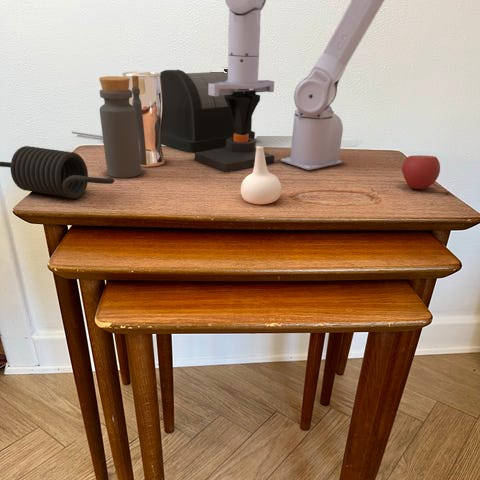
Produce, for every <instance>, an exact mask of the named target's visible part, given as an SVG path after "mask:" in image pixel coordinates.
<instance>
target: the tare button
mask: <svg viewBox="0 0 480 480" xmlns="http://www.w3.org/2000/svg"><path fill="white" fill-rule="evenodd" d="M248 138H249V134H246V135H240V134H236V133H234V140H233V141H234V142H248Z"/></svg>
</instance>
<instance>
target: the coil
mask: <svg viewBox="0 0 480 480" xmlns="http://www.w3.org/2000/svg"><path fill="white" fill-rule="evenodd" d="M0 168H9V169H10V175H11V179H12V180H13V183H14V184H15V186H16V187H17V188H19V189H20V190H22V191H28V192H33V193H38V194H45V195H51V196H57V197H62V198H68V199H74V200H75V199H79V198H80V197H81V196H83V195H84V193H85V192H86V190H87V187H88V183H89V184H90V183H91V184H101V185H112V184H114V183H115V179H114V177H112V176H109V177H95V176H89V171H88V166H87V165H86V162H85V160H84V158H83V157H82V156H81V155H80V154H78V153H76V152H74V151H68V150H67V151H65V150H60V149H59V150H58V149H51V148H44V147H36V146H30V145H24V146H21V147H18V149H17V150H16V151H15V152H14V153H13V155H12V158H11V161H10V162H9V161H0Z"/></svg>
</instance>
